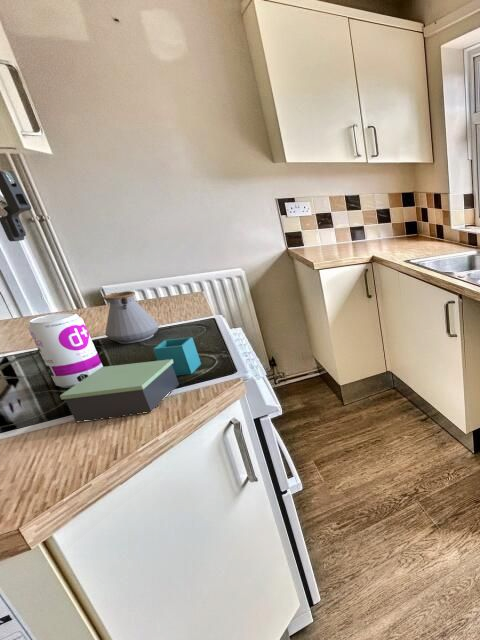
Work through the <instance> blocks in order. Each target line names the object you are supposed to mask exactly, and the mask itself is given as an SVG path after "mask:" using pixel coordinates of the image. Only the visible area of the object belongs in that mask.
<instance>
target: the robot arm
mask: <svg viewBox="0 0 480 640" xmlns="http://www.w3.org/2000/svg"><path fill="white" fill-rule="evenodd" d="M0 192H1V194H2V195H1V194H0V225H1V228H2V229H3V232H4V233H5V235H6V238H7V240H8V241H9V242H20V241H24V240H25V237H26V236H27V233H26V230H25V227H24V225H23V223H22V221H21V219H20V214H22V213H24V212H27V211H31V210H32V206H31V204H30V202H29V200H28V198H27V195H26V194H25V192H24V189H23V188H22V186H21V184H20V181H19V179H18V177H17V176H16V174H15V173H14V171H12V170H7V169H6V170H5V169H4V170H0Z"/></svg>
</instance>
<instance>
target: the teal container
mask: <svg viewBox="0 0 480 640" xmlns="http://www.w3.org/2000/svg"><path fill="white" fill-rule="evenodd" d="M196 347H197V346H196V344H195V341H194V338H193V337H191V336H190V337H182V338H172V339H171V338H170V339H164V340H162V341H161V342H160V343H159V344H158V345H156V346H155V347H154V348H152V351H153V353H154V356H155V358H156V361H160V360H169V359H173V362H174V363H172V366H173V369H174V372H175V375H176V377H177V376H185V375H192V374H193V373H194V372H195V371H196V370H198V368H200V366H202V362H201V359H200V356H199V353H198V350H197V348H196Z"/></svg>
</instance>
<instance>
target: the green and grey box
mask: <svg viewBox="0 0 480 640" xmlns="http://www.w3.org/2000/svg"><path fill="white" fill-rule="evenodd" d="M172 363H174V362H173V359H169V360H160V361H157V360H152V361H143V362H136V363H135V362H134V363H125V364H118V365H117V364H116V365H107V366H103V367H101V368H100V369H98V370H97V371H95V372H94V373H93V374H91V375H90V376H88V377H87V378H85V379H84V380H82V381H81V382H79V383H78V384H76V385H75V386H73V387H71V388H68V389H67V390H66V391H65V392H63V393H62V394H60V395H59V398H60V400H65V403H66V404H67V406H68V408H69V411H70V413H71V415H72V417H73V419H74V421H75V423H76V422H77V421H84V420H94V419H101V418H109V417H117V418H119V417H118V416H123V415H130V414H137V413H143V412H151V411H152V410H153V409H154V408H155V407H156V406H157V405H158V404H159V403H160V402H161V401H162V399H163V398H164V397H165V396H166V395H167V394H168V393H169V392H171V391H172V390H173V389H175V390H176V389H177V388H178V387H179V386H180V383H179V380H178V378H177V376H176V375H175V372H174V369H173V366H172ZM109 419H110V418H109Z"/></svg>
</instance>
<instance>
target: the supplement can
mask: <svg viewBox="0 0 480 640" xmlns="http://www.w3.org/2000/svg"><path fill="white" fill-rule="evenodd" d="M28 332H29V333H30V337H32V340H33V342H34V344H35V346H36V347H37V350H38V352H39V354H40V356H41V358H42V360H43V362H44V364H45V367H46V368H47V370H48V373H49V375H50V376H51V378H52V381H53V382H54V385H55V386H58V387H60V388H63V389H70V388H72V387H73V386H75V385H76V384H78V383H79V382H81V381H82V380H84V379H85V378H87V377H88V376H90V375H91V374H93V373H94V372H95V371H97V370H98V369H100V368H101V367H104V365H103V363H102V361H101V358H100V356H99V354H98V351H97V349H96V347H95V344H94V342H93V340H92V338H91V336H90V332H89V331H88V328H87V325H86V324H85V322H84V320H83V318H82V317H81V316H79V315H78V314H77V313H76V312H73V311H68V312H67V311H65V312H57V313H51V314H46V315H41V316H38V317H35V318H32V319H31V320H29V325H28Z"/></svg>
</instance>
